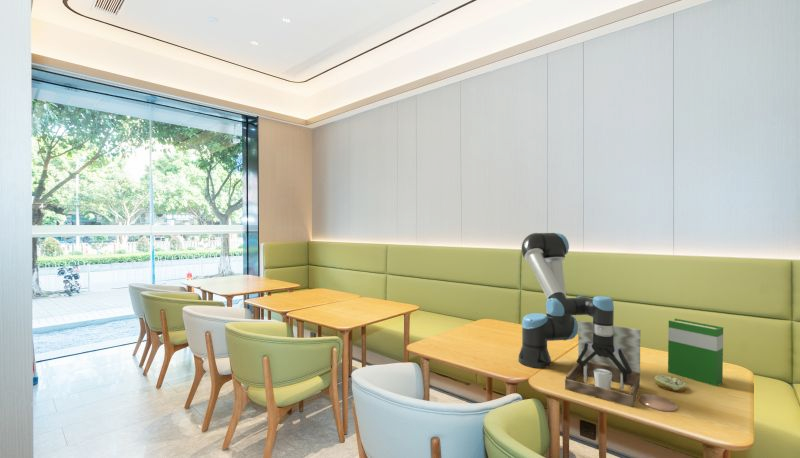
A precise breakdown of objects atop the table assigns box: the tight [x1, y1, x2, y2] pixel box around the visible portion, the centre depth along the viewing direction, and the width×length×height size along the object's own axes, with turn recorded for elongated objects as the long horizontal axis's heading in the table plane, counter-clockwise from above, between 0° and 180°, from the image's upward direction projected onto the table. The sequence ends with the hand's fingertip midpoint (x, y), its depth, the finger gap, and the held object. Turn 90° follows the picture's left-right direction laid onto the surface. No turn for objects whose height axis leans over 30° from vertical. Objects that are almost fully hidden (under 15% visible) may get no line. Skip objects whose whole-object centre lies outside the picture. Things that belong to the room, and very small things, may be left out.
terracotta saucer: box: [638, 393, 678, 412], centre depth 141 cm, size 12×12×1 cm
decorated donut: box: [654, 374, 687, 393], centre depth 155 cm, size 10×11×4 cm
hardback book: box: [667, 318, 724, 387], centre depth 165 cm, size 18×7×24 cm, turn 33°
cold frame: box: [564, 320, 641, 408], centre depth 154 cm, size 24×23×24 cm
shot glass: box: [593, 369, 612, 390], centre depth 154 cm, size 7×7×7 cm
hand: (603, 385), depth 154 cm, fingers open, 13 cm apart
